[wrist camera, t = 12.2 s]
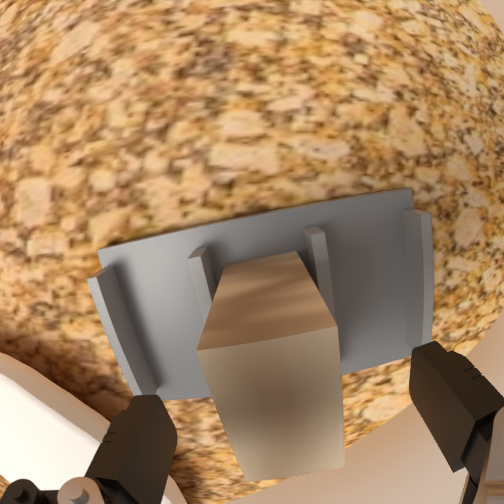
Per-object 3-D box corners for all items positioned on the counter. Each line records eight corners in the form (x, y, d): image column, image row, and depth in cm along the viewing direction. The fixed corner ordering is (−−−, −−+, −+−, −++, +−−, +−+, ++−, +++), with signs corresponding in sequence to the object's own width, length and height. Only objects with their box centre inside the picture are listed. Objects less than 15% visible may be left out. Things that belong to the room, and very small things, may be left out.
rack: (403, 187, 15) (430, 190, 12) (409, 346, 17) (430, 370, 14) (105, 246, 16) (78, 259, 13) (156, 391, 18) (144, 420, 15)
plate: (229, 556, 19) (50, 524, 21) (230, 510, 25) (62, 493, 27) (23, 378, 10) (-96, 373, 12) (80, 309, 16) (-66, 343, 18)
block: (296, 250, 15) (337, 325, 7) (312, 354, 16) (344, 466, 8) (225, 264, 15) (196, 350, 7) (250, 365, 16) (246, 481, 9)
